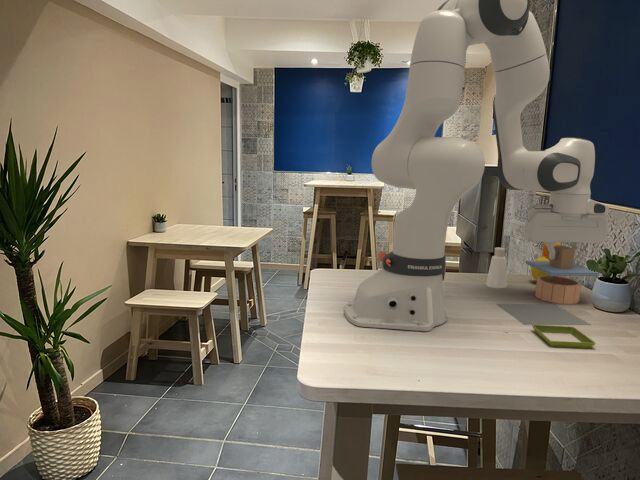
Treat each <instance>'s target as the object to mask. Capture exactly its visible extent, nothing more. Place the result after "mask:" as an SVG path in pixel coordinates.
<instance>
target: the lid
mask: <svg viewBox="0 0 640 480" xmlns="http://www.w3.org/2000/svg"><path fill="white" fill-rule="evenodd" d="M553 247H554V249H555V252H557V253H559V256H558V259H557V260H551V259H550V261H535V260H526V261H525V264H526V265H528V266H530V267H534V268H536V269H538V270H540V271H542V272H544V273H546V274H548V275H550V276H561V277H567V276H568V277H599V274H600V272H597V271H595V270H593V271H591V270H592V269H590V268H588V267H585V266H582V265H580V264H577V263H575V262H574V261H575V260H574V253H575V249H572V247H570V246H569V247H568V246H566V245H563V244H562V245H556V246H553ZM589 269H590V270H589ZM594 271H595V272H594Z"/></svg>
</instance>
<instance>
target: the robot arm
mask: <svg viewBox="0 0 640 480" xmlns="http://www.w3.org/2000/svg"><path fill="white" fill-rule="evenodd" d="M530 6H531V5H530V0H446V1H444V2H443V3H442V4H441V5H440V6H439V7H438V8H437V9H436V10H434V11H432V12H429V13H428V14H426V15H425V16H424V17H423V18H422V19H421V21H420V23H419V25H418V28H417V32H416V35H415V39H414V42H413V46H412V52H411V57H410V62H409V69H408V77H407V84H406V91H405V96H404V102H403V105H402V109H401V111H400V115H399V116H398V119H397V121H396V123H395V124H394V126H393V128H392V130H391V131H390V133H389V134H388V135H387V136H386V137H385V138H384V139H383V140H382V141H381V142H380V143H378V144H377V146H375V149H374V151H373V153H372V155H371V170H372V173H373V175H374V177H375V179H376V180H378V181H379V182H380V183H383V184H385V185H388V186H390V187H391V186H392V187H394V188H399V189H400V188H401V189H409V190H411V189H412V190H415V195H414V197H413V198H414V199H413V200H412V203H411V204H410V205H409V207H406V208H405V209H403V210H401V211H400V212H399V213H398V214H397V215H396V216H395V218H394V221H393V222H394V223H393V237H392V238H393V239H392V251H390V252H389V253H386V252H385V251H383V250H381V251H379V252H378V253H377V258H378V260H379V261H380V262H382V268H380V270H378V271H376V272H375V273H374V274H372V275H371V276H370V277H369V276H368V278H367V279H365V280H363V281H362V282H360V284H359V285H358V287H357V289H356V291H355V292H356V293H355V297H354V301H348V302H347V303H346V304H345V306H344V309H343V310H344V312H343V313H344V316H345V318H346V319H347V321H349V322H350V323H351V324H353V325H355V326H356V327H364V328H377V329H391V330H402V331H403V330H405V331H406V330H407V331H419V332H430V331H431V330H433V328H434V327H437V326H440V325H443V324H444V323H446V321H447V319H448V318H447V314H446V308H445V302H444V284H443V283H444V281H445V275H446V268H447V261H446V259H447V256H446V254H445V249H446V240H447V239H446V238H447V231H448V225H449V221H450V218H451V215H452V214H453V213H452V212H453V211H454V208H455V207H456V205H457V204H458V202H459V201H460V200H461V199H462V197H463V196H464V195H466V194H467V193H468V192H469V191H471V190H472V189H474V188H475V187H476V186H477V185H478V184H479V182H480V181H481V180H482V178H483V175H484V173H485V167H486V166H485V165H486V161H485V156H484V153H483V151H482V148H481V147H480V146H479V144H478V143H477V142H475V141H471V140H468V139H463V138H461V137H455V136H441V137H440V136H436V133H437V131H438V129H439V128H440V127H441V126H442V124H443V123H444V122H445V121H446V120H447V119H449V118H451V117H452V116H454V115H455V114H456V113H457V111H458V110H459V109H460V108H459V107H460V105H461V99H462V92H463V85H464V78H465V69H466V61H467V51H468V48H469V46H474V45H480V44H484V45H485V46H486V47H487V49H488V50H489V56H490V59H491V61H490V62H491V66H492V71H493V74H494V80H495V81H494V82H495V95H494V96H493V101H492V114H493V123H494V130H495V131H494V132H495V140H496V147H497V166H496V167H497V168H496V172H497V178H498V181H499V183H500V184H501V186H502V187H504V189H507V190H509V191H529V192H530V191H531V192H542V193H543V192H544V193H549V201H548V204H539V203H538V204H537V203H535V204H533V205H532V206H530V207H529V208H527V212H526V221H525V222H524V223H525V224H524V227H523V228H524V229H523V233H522V235H523V238H524V239H525V241H528V242H531V243H545V242H546V246H547V248H548V250H549V259H551V260H557V259H558V256H559V253H557V252H555V249H554V247H553V246H556V242H560V243H570V245H571V248H572V249H575V253H574V260H573V261H575V259H576V255H577V253H578V252H579V250H580V249H581V248H582V243H585V244H586V243H587V244H591V243H592V244H594V243H595V244H602V243H604V242H605V241H606V240H607V239H608V234H609V227H610V226H609V224H610V223H609V222H610V221H609V217H608V216H607V214H609V212H610V206H609V205H607V204H605V203H602V202H599V201H596V200H593V199H591V195H592V192H591V191H592V190H591V183H592V179H593V177H594V173H595V163H596V150H595V145H594V143H593V142H592V141H590V140H589V139H587V138H581V137H572V136H569V137H562V138H560V140H559V141H558V143H556V144H555V145H554V146H551V147H550V148H547V149H544V150H539V151H538V150H533V151H532V150H528V149H527V148H525V146H524V142H523V141H524V140H523V134H522V132H523V131H522V123H521V115H522V112H523V110H524V108H525V107H527V105H529V104H530V103H532V102H533V101H534V100H536V99H537V98H538V97H539V96H541V94H543V92H544V90H545V89H546V87H547V86H548V83H549V81H550V76H551V75H550V72H551V71H550V70H551V69H550V64H549V63H550V62H549V60H548V54H547V50H546V49H547V48H546V46H545V42H544V38H543V36H542V35H543V34H542V31H541V29H540V27H539V24H538V21H537V20H536V18H535V15H534V14H533V12H531V11H530Z"/></svg>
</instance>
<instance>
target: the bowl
mask: <svg viewBox="0 0 640 480" xmlns="http://www.w3.org/2000/svg"><path fill="white" fill-rule="evenodd" d="M535 287H536V288H535V295H534V296H535V297H536V298H537V299H540V300H542V301H544V302H547V303H548V302H549V303H551V304H557V305H558V304H560V305H576V304H578V303H580V298H581V297H580V296H581V291H582V282H581V281H579V280H577V279H574V278H571V277H567V276H550V275H543V276H538V277H537V280H536V285H535Z"/></svg>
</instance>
